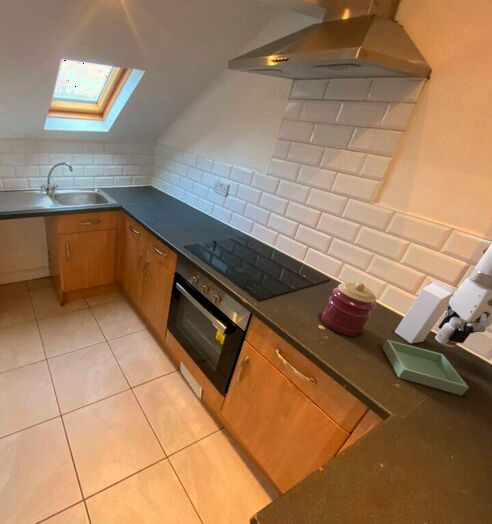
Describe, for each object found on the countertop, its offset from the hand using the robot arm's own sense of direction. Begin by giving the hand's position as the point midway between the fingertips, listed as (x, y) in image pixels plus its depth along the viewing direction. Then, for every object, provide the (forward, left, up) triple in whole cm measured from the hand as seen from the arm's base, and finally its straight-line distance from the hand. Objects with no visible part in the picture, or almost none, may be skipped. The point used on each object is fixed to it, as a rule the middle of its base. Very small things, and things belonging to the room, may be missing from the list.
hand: (450, 334), depth 84 cm
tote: (0, -1, -15) cm, 15 cm away
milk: (-4, -19, -15) cm, 24 cm away
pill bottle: (0, 0, -3) cm, 3 cm away
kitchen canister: (+19, -15, -15) cm, 29 cm away
